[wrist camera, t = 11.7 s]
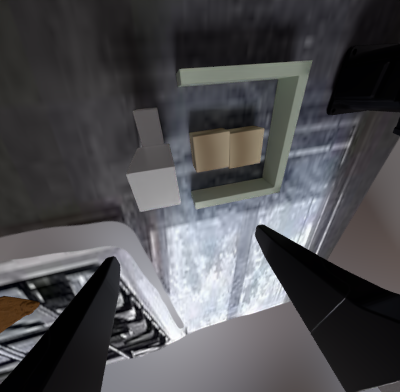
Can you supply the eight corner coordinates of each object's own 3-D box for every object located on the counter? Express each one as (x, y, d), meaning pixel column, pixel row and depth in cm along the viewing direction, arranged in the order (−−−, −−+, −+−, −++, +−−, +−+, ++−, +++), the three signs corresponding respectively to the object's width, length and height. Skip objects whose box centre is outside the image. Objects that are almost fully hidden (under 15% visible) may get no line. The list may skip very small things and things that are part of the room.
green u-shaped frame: (288, 66, 16) (312, 60, 14) (266, 182, 24) (279, 192, 21) (175, 73, 14) (179, 69, 12) (191, 196, 22) (195, 209, 20)
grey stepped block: (162, 106, 16) (164, 114, 8) (176, 183, 21) (186, 231, 13) (131, 109, 15) (105, 120, 8) (153, 187, 20) (150, 239, 13)
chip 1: (221, 127, 18) (229, 131, 16) (222, 159, 20) (229, 166, 18) (188, 132, 18) (192, 137, 16) (192, 165, 20) (196, 172, 18)
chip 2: (252, 125, 19) (264, 128, 17) (249, 156, 21) (259, 162, 19) (221, 130, 18) (230, 134, 16) (222, 161, 21) (229, 168, 18)
